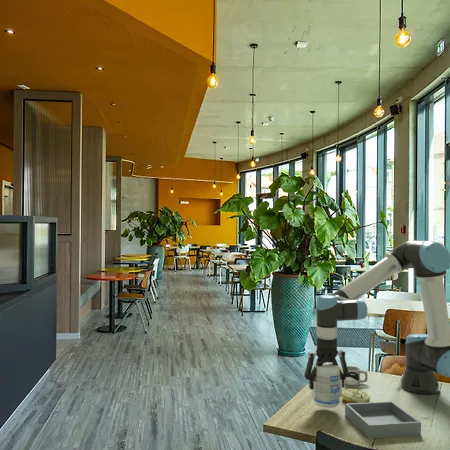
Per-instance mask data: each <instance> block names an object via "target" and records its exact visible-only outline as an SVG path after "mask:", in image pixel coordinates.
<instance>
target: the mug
mask: <svg viewBox="0 0 450 450" xmlns="http://www.w3.org/2000/svg"><path fill="white" fill-rule="evenodd" d="M347 369H348V373H349V377H346V379H345V380H344V385H346V386H350V387H358V386H360V385H361V383H362V384H363V383H366V382H368V379H369V378H368V376H369V375H368V372H367V371H365V370H361V369H360V368H359V367H357V366H352V365H349V366H348V365H347ZM361 374H364V375H365V376H364V379H361Z"/></svg>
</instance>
